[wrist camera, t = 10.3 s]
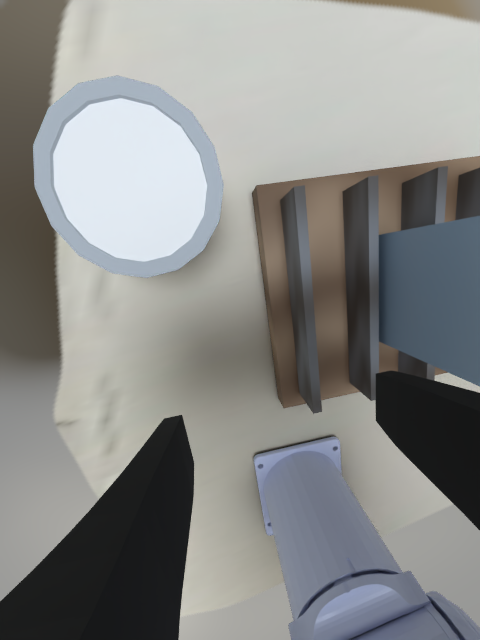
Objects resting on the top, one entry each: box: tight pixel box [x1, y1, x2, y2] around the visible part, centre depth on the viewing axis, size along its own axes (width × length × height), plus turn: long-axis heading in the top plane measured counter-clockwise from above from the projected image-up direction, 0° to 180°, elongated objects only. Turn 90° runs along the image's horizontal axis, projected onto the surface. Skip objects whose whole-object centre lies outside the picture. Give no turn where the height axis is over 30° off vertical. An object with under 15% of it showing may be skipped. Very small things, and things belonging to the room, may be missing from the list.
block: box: [379, 216, 480, 386], centre depth 13 cm, size 7×2×8 cm, turn 9°
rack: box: [252, 156, 480, 414], centre depth 16 cm, size 16×16×4 cm
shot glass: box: [33, 76, 224, 278], centre depth 12 cm, size 7×7×7 cm
